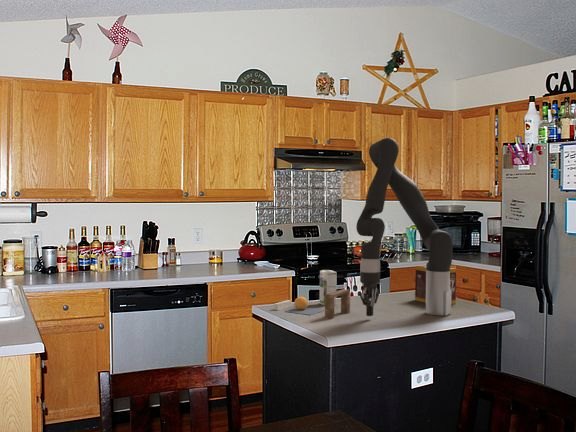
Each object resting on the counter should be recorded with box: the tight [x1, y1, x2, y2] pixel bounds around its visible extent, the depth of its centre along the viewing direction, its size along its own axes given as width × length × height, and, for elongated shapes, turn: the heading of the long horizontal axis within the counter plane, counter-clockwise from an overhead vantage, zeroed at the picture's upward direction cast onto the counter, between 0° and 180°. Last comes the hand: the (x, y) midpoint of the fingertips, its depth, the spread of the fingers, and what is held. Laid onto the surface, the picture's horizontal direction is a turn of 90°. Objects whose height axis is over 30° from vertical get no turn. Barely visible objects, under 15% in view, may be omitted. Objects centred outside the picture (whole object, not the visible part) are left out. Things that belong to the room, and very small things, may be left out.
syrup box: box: [318, 269, 338, 307], centre depth 264 cm, size 6×6×14 cm
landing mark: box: [284, 306, 325, 316], centre depth 250 cm, size 12×12×1 cm
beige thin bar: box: [273, 299, 293, 311], centre depth 256 cm, size 2×10×2 cm, turn 146°
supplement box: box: [414, 264, 457, 305], centre depth 271 cm, size 10×15×16 cm
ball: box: [293, 296, 309, 310], centre depth 252 cm, size 6×6×6 cm
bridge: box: [324, 288, 351, 320], centre depth 241 cm, size 3×14×9 cm, turn 146°
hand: (369, 315), depth 233 cm, fingers closed
